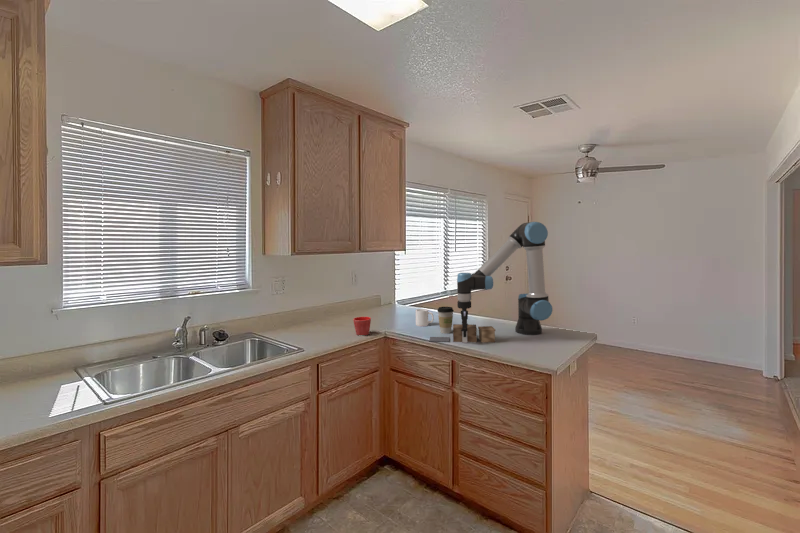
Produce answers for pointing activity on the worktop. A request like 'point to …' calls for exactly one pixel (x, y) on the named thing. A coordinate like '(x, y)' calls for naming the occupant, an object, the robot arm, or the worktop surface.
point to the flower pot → (362, 325)
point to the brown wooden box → (470, 333)
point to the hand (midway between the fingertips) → (464, 339)
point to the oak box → (486, 334)
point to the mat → (439, 339)
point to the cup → (423, 317)
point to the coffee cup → (445, 319)
